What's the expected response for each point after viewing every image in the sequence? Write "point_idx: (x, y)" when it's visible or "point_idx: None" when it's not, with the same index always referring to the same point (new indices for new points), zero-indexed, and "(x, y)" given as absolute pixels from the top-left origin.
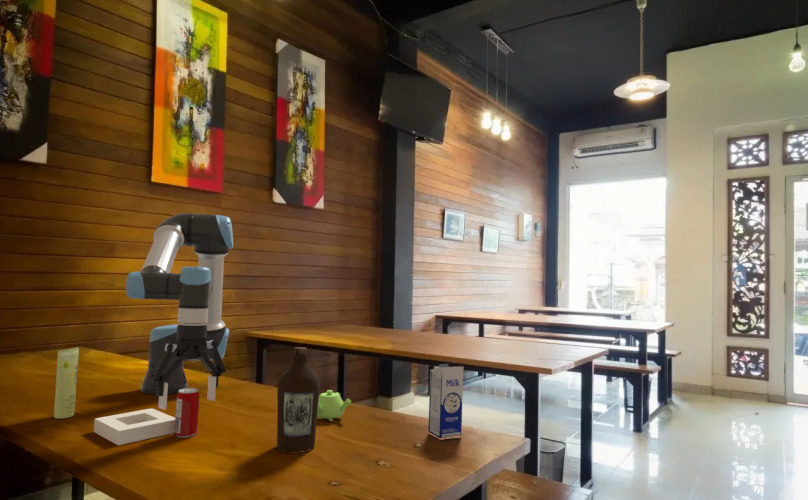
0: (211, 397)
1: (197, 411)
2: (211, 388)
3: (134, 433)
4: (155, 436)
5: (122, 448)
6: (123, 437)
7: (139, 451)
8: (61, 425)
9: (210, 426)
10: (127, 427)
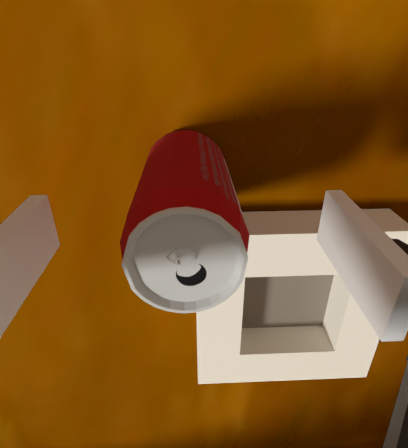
0: (43, 214)
1: (151, 166)
2: (20, 248)
3: None
4: (272, 211)
5: (400, 174)
6: (387, 218)
7: (394, 105)
8: (359, 416)
9: (70, 198)
10: None
